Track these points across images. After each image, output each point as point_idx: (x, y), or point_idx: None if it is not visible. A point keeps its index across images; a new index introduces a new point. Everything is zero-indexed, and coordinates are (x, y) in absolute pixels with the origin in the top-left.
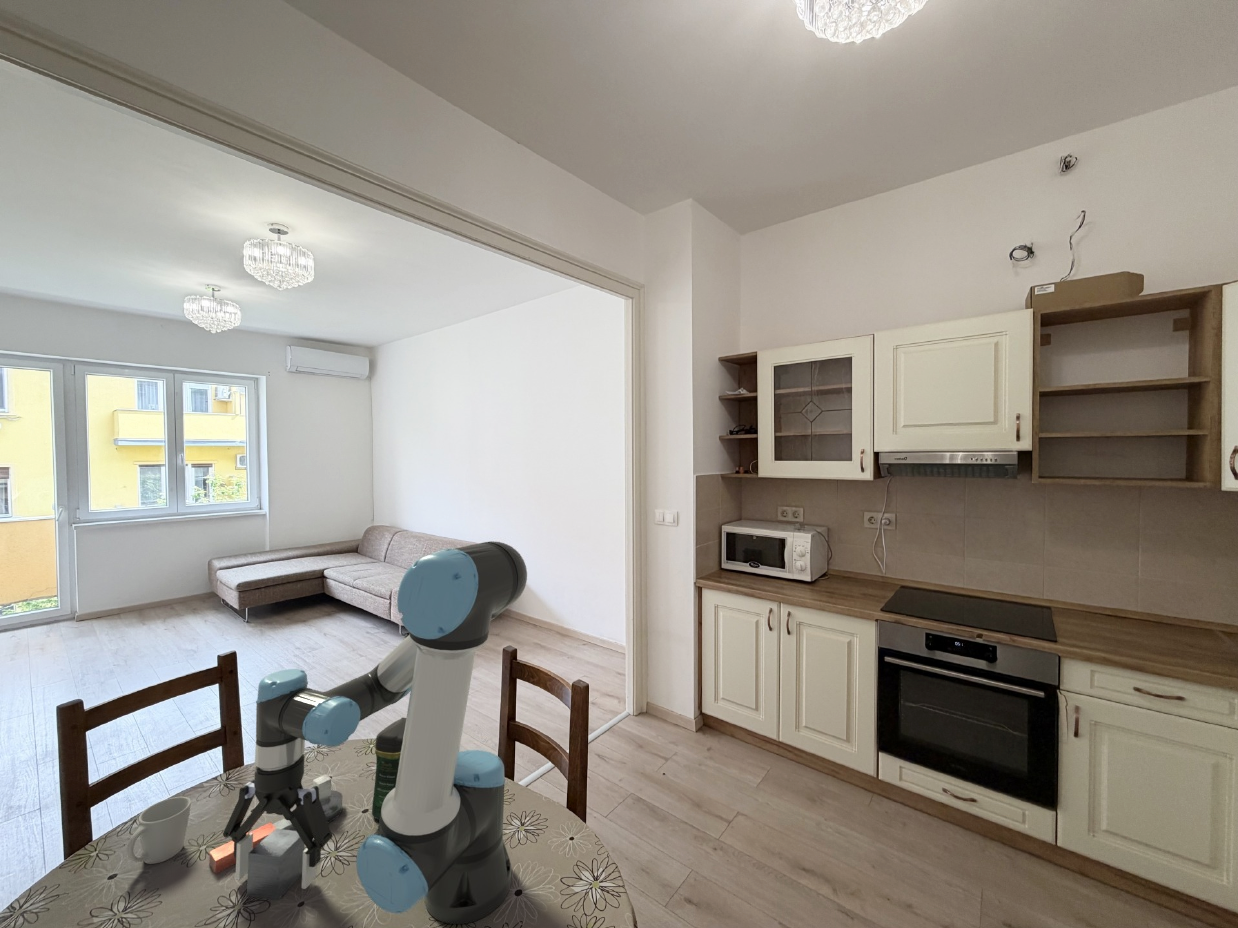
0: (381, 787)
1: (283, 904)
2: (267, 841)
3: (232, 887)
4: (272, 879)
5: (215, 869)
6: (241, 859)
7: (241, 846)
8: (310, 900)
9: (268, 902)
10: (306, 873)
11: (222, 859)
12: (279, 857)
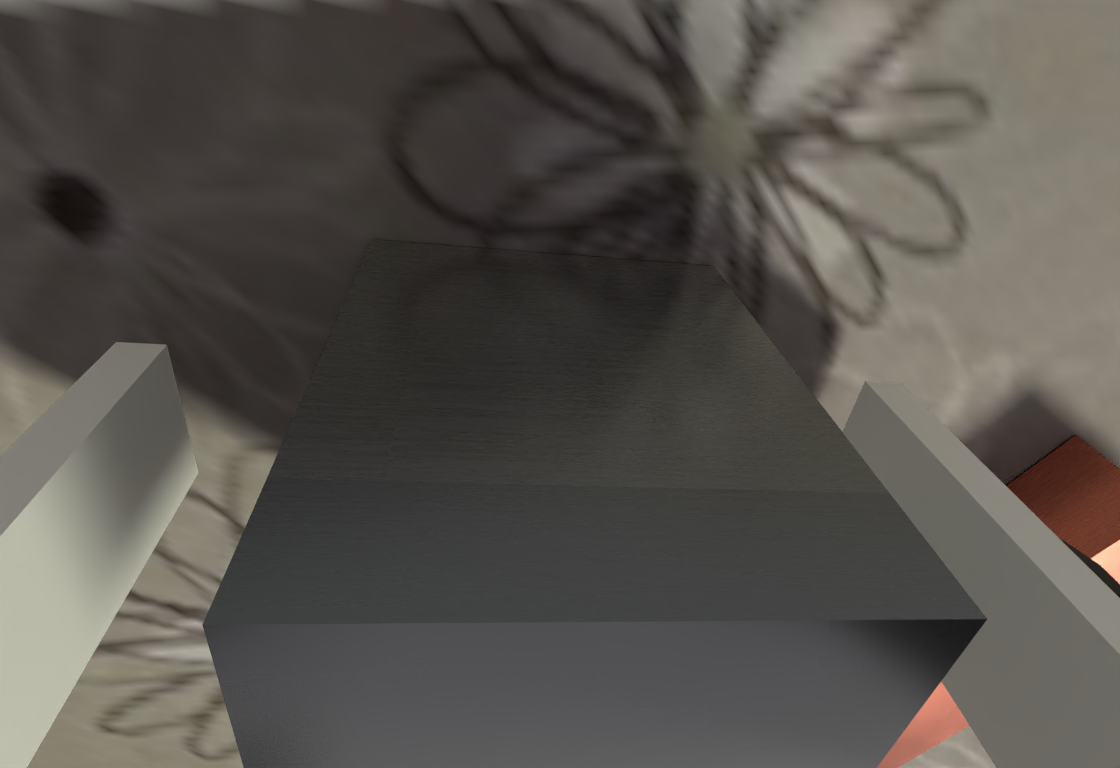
0: None
1: (266, 189)
2: None
3: (887, 336)
4: (425, 339)
5: (1101, 456)
6: (975, 526)
7: (1118, 676)
8: (15, 251)
9: (447, 205)
10: (12, 448)
11: (1103, 524)
12: (218, 605)
